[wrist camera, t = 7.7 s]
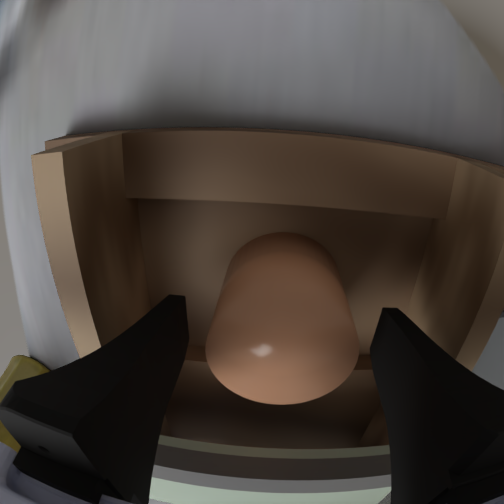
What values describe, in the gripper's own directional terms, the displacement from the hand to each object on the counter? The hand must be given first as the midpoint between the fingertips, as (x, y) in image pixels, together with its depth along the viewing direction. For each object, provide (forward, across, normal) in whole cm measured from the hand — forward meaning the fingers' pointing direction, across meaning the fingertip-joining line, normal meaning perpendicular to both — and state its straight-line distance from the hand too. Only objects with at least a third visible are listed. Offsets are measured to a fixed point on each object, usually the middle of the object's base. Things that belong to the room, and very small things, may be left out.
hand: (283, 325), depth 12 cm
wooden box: (+3, 0, +4) cm, 5 cm away
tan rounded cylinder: (+3, 0, 0) cm, 3 cm away
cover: (-2, 0, +10) cm, 10 cm away
